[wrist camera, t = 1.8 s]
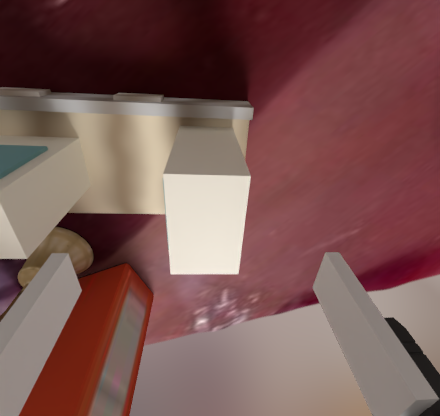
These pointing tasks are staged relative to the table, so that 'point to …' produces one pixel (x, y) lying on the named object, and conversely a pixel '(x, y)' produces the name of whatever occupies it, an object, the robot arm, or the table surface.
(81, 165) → the carton
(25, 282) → the hand bell
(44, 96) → the thin cream board
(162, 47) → the table surface
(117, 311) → the file binder
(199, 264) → the carton
